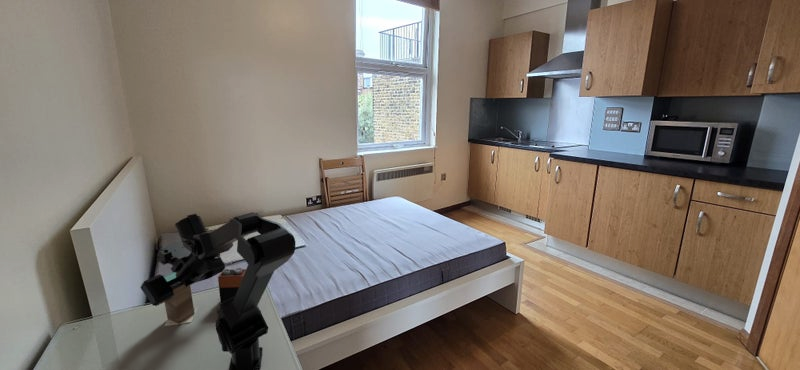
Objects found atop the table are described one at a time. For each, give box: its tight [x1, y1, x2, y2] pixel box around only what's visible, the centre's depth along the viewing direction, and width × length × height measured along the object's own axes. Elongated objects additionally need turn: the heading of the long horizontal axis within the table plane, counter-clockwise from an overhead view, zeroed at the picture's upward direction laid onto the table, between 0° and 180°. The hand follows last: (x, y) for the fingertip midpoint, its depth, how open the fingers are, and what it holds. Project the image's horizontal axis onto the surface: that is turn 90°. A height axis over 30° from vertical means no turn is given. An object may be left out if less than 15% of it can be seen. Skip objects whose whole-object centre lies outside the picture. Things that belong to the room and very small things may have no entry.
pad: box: [163, 308, 198, 327], centre depth 88 cm, size 6×6×1 cm
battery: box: [217, 267, 247, 304], centre depth 96 cm, size 4×7×10 cm, turn 98°
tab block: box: [164, 272, 196, 325], centre depth 87 cm, size 4×4×12 cm
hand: (174, 290), depth 87 cm, fingers open, 9 cm apart
